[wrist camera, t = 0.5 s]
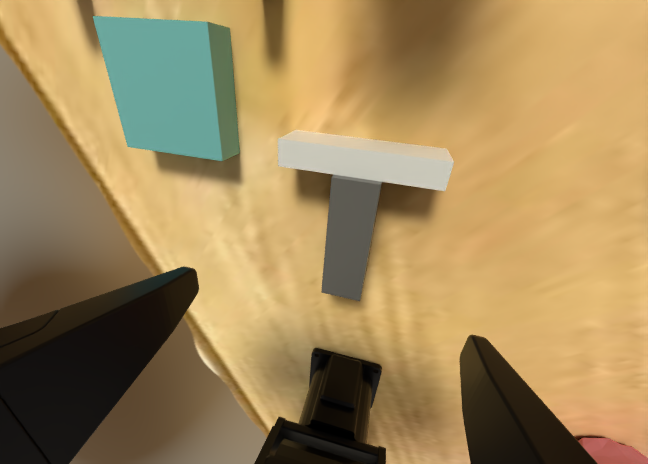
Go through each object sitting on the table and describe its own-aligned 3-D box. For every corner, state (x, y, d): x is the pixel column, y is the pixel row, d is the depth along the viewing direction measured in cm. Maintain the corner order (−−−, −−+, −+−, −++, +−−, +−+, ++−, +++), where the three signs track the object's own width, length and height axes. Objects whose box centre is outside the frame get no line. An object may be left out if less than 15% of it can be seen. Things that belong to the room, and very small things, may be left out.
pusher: (409, 278, 21) (410, 312, 18) (293, 254, 22) (276, 282, 20) (446, 148, 16) (455, 164, 13) (296, 129, 18) (274, 140, 15)
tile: (242, 152, 20) (222, 161, 18) (155, 139, 21) (127, 146, 19) (233, 29, 16) (207, 21, 14) (130, 23, 18) (92, 16, 15)
